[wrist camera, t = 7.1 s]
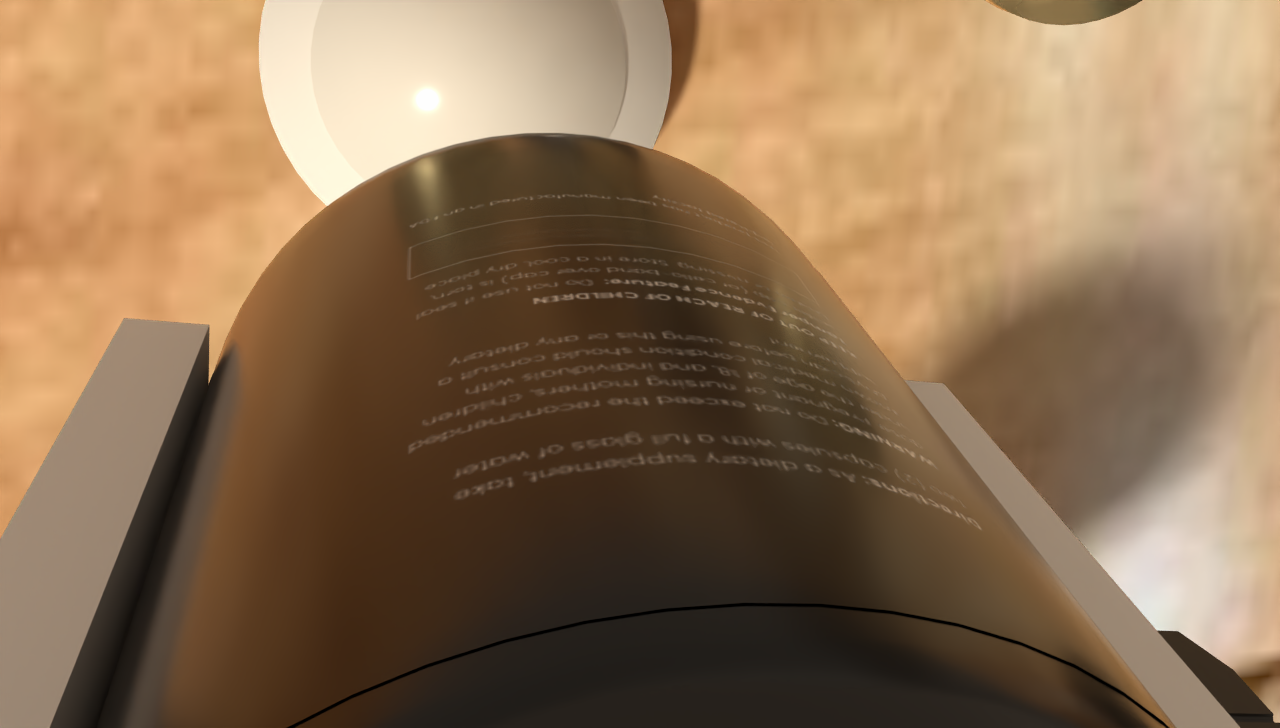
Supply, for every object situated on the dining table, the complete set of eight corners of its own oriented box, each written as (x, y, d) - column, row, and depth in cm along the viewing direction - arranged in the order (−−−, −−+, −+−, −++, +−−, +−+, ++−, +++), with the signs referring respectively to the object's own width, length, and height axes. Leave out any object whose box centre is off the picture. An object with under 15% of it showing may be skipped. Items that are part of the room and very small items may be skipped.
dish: (505, -246, 28) (509, -247, 27) (735, 99, 33) (747, 111, 31) (175, 19, 29) (164, 29, 28) (438, 316, 34) (440, 336, 33)
